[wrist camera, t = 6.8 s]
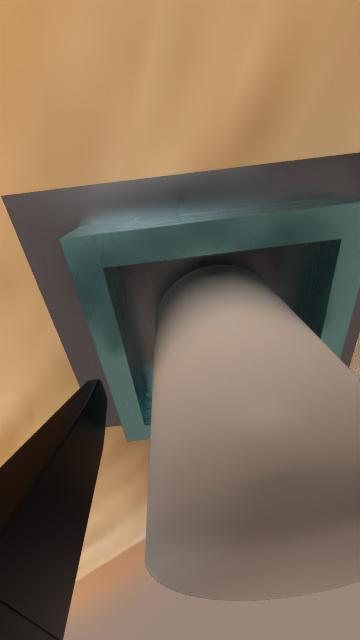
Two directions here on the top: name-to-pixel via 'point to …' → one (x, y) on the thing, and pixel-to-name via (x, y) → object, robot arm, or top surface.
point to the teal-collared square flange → (189, 259)
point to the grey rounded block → (249, 446)
